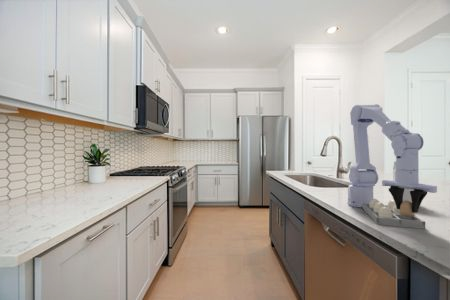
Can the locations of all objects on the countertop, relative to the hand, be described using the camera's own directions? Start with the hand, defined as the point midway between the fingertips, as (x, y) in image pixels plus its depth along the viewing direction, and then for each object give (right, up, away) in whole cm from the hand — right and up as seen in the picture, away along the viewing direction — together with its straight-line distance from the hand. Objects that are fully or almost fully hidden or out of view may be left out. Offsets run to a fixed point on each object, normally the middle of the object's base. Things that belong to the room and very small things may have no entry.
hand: (407, 210), depth 72 cm
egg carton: (-1, -4, +7) cm, 8 cm away
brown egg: (0, -1, 0) cm, 1 cm away
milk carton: (+21, -4, +26) cm, 33 cm away
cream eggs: (-1, -4, +7) cm, 8 cm away
